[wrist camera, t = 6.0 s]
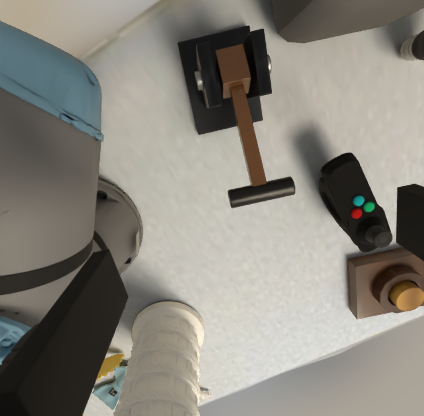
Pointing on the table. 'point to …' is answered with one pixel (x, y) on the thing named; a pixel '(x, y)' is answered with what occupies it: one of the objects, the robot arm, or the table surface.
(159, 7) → the table surface
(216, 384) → the table surface
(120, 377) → the bow tie
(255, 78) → the switch bracket
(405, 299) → the power button
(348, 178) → the controller
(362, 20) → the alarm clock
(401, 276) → the switch block
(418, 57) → the light bulb
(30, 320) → the robot arm
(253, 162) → the lever
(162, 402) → the decorative container
